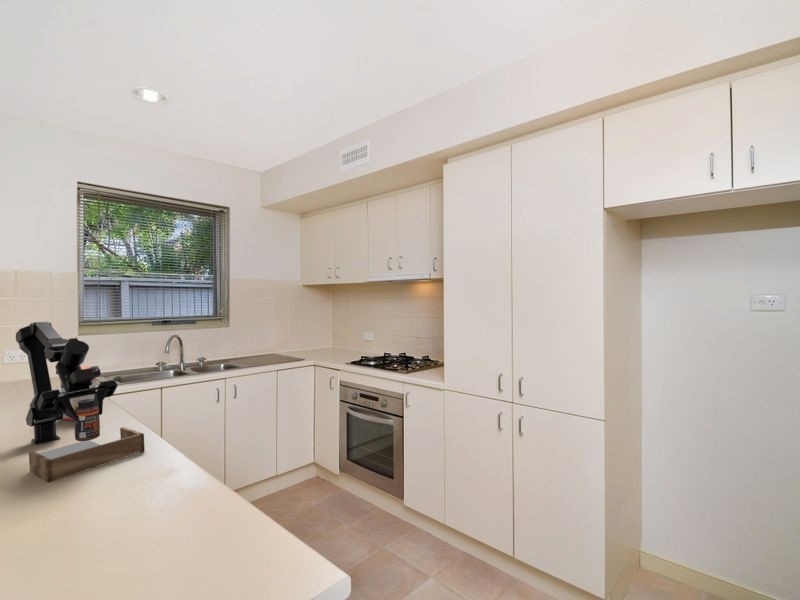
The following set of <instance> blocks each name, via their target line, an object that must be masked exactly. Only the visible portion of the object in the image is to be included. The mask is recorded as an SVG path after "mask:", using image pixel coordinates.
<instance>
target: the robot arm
mask: <svg viewBox="0 0 800 600" xmlns="http://www.w3.org/2000/svg"><path fill="white" fill-rule="evenodd" d="M15 341H16V343H18V346H19V350H21V351H22V352H23V353H25V354H26V355H27V360H28V366H29V371H30V376H31V383H32V388H33V394H34V397H33V398H32V400H31V401H30V403H29V409H28V412H27V414H26V417H25V423H26V425H27V426H29V427H31V428H32V427H33V434H34V435H33V437H34V438H32V439H31V442H32V444H33V445H40V444H44V443H48V442H53V441H57V440H60V439H61V437H60V436H58V435H57V421H62V420H64V419H63V414H65V415H67V416H68V417H70V418H71V419H73V420H74V421H76V420H77V415H76V413H75V411H74V409H73V407H72V405H71V403H70V399H73V398H78V397H83V396H88V395H93V396H94V399H95V405H96V406H98V407H99V416H101V415H102V414H103V407H104V400H105V399H106V398H110V397H112V396H114V394H115V392H116V390H117V388H118V382H117V381H116V380H115V379H109V380H103V381H100V382H99V384H98V386H96V387H95V388H90V387H89V386H90V385H92V381H91V380H93V379H95V377H96V378H99V377H101V374H102V373H101V369H100V367H99V365H95V366H90V367H91V368H89V369H81V366H82V364H83V363H84V361H85V360H86V357H87V355H88V352H89V351H90V346H89V344H87V343H86V342H85V341H82V340H79V339H78V338H77V337H74V338H73V337H72V338H68V339H67V338H63V337H62V336H61V335H60V334H59V333H58V332H57V330H55V328H54V327H53V325H52V322H50V321H36V322H35V321H33V322H31V323H30V324H29V325H27V326H25V327H24V326H23V327H21V328H19V329H18V330H17V332H16V333H15ZM47 360H48V362H49V363H56V362H57V363H56V364H55V374H56V375H57V376H58V378H59V380H61V383H62V384H61V383H60V388H61V387H62V388H64V390H65V392H61V390H60V389H53V388H52V383H51V378H50V373H49V367H48V363H47ZM74 421H73V422H74Z"/></svg>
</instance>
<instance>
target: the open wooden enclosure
mask: <svg viewBox="0 0 800 600" xmlns="http://www.w3.org/2000/svg"><path fill="white" fill-rule="evenodd" d="M119 430H120V431H119V433H120V439H117V440H114V441H110V442H107V443H104V444H100V445H99V446H96V447H92V448H89V449H85V450H82V451H78V452H75V453H71V454H68V455H64V456H61V457H57V458H54V459H48V458H46V457H44V456H42V455H40V454H38V453H39V452H36V451H34V450H33V451H30V452H28V462H29V464H28V465H29V473H31V474H32V475H34V476H36V477H38V478H39V479H41V480H43V481H44V482H46V483H51V482H54V481H57V480H60V479H63V478H65V477H69V476H73V475H75V473H76V474H78V472H79V473H82V472H85V471H87V470H86V469H88V470H90V469H89V468H91V469H94V468H96V466H97V467H100V466H102V464H103V465H106V464H109V463H111V461H113V462H115V461H114V460H116V461H118V460H117V459H119V460H122V459H124V457H125V458H128V457H131V456H133V454H134V455H136V454H135V453H137V454H139V453H138V452H140V453H142V452H141V451H143V452H145V451H144V450H145V433H143V432H141V431H137V430H134V429H130V428H127V427H125V426H122V427H120V428H119ZM130 455H131V456H130ZM127 456H128V457H127ZM121 458H122V459H121ZM108 462H109V463H108ZM105 463H106V464H105ZM99 465H100V466H99ZM93 467H94V468H93ZM84 470H85V471H84ZM81 471H82V472H81Z"/></svg>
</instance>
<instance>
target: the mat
mask: <svg viewBox="0 0 800 600" xmlns="http://www.w3.org/2000/svg"><path fill="white" fill-rule="evenodd" d="M99 445H101V444H100V443H98V442H97V443H96V442H94V441H92V440H88V441H77V442H75V443H71V444H66V445H63V446H59V447H56V448H53V449H49V450H45V451H41V452H37V453H38V454H40V455H42V456H44V457H46V458H48V459H54V458H57V457H61V456H64V455H68V454H71V453H75V452H78V451H82V450H85V449H89V448H92V447H96V446H99Z"/></svg>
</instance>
